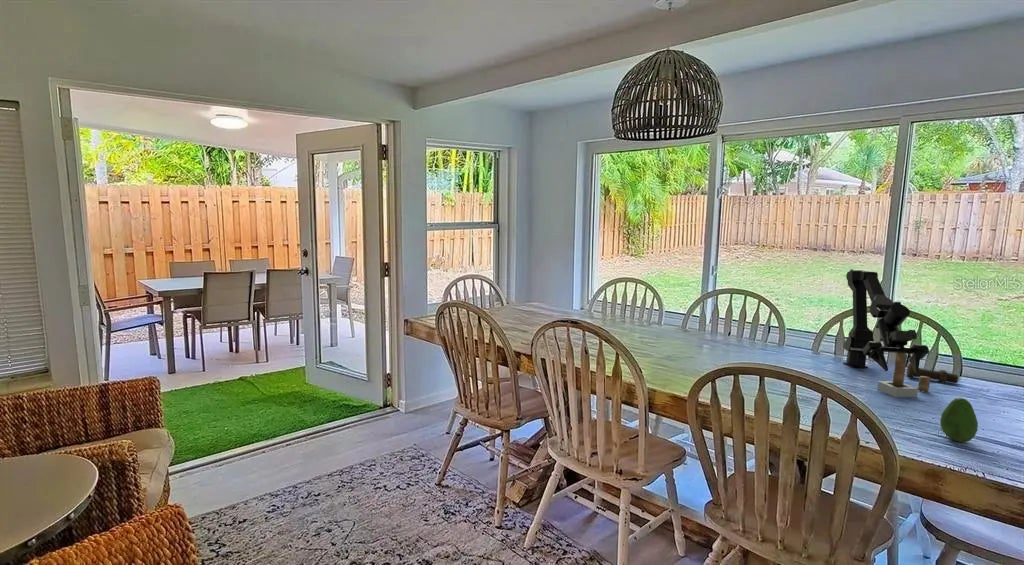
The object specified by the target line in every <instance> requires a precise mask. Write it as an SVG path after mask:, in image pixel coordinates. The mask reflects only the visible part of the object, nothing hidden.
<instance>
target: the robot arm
mask: <svg viewBox="0 0 1024 565" xmlns="http://www.w3.org/2000/svg"><path fill="white" fill-rule="evenodd" d="M878 276H879V274H878V272H877V271H875V270H869V269H857V268H856V269H855V268H851V269H850V270H849V271H847V273H846V275H845V277H846V278H845V279H846V281H847V286H848V287H849V288H850V290H851V291H852V322H853V323H852V328H851V329H850V331H848V337H847V338H846V339H845V341H844V342H843V349H844V350H845V351H847V354H846V361H843V362H842V364H844V365H847V366H849V367H852V368H853V369H854V368H856V369H857V368H869V365H867V364H866V362H867V358H870V359H872V360H873V361H874V362H876V363H877V364H878V365H879V367H881V368H882V369H883V370H884V371H885V372H888V370H889V368H888V363H887V360H886V357H885V353H891V354H897V353H904V354H907V357H908V358H909V359H908V361H909V364H911V366H912V368H913V370H914V372H915V373H916V374H917V373H918V370H919V367H920V361H921V360H923V358H925V357H926V356H927V355H928V354H929V353H930V352H931V351H930V349H929V346H928V345H925V344H913V345H912V346H911V347H905V346H907V345H908V344H909V343H908V342H911V341H913V340H917V338H918V333H917V330H915V329H908V330H900V329H899V326H901V325H902V324H903V323H904V322H905V321H906V320H907V318H908V317H909V316H910V314H911V311H910V309H909V308H908V307H907V306H906V305H903V304H902V303H901V301H893V300H892V299H890V298H889V297H887V296H886V294H885V291H884V290H883V286H882V285H881V282H880V280H879V277H878ZM867 294H868V295H867ZM867 296H868V297H869V299H870V306H869V312H870V313H869V314H870V315H871V316H872V318H874V319H875V318H876V319H879V320H878V321H877V324H876V326H875V328H876V329H879V333H880V339H879V340H880V341H875V339H874V332H873V330H871V329H870V328H869V327H868V300H867V299H868V298H867Z"/></svg>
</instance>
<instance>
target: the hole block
mask: <svg viewBox="0 0 1024 565" xmlns="http://www.w3.org/2000/svg"><path fill="white" fill-rule="evenodd" d="M892 384H893V380H887V381H886V380H878V382H877V387H876V390H877V391H879V392H882V393H884V394H886V395H889V396H891V397H894V398H896V399H897V398H918V392H919V391H918V388H917V387H915V386H913V385H910V384H908V383H905V382H904V383H903V387H895V386H893V385H892Z"/></svg>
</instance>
